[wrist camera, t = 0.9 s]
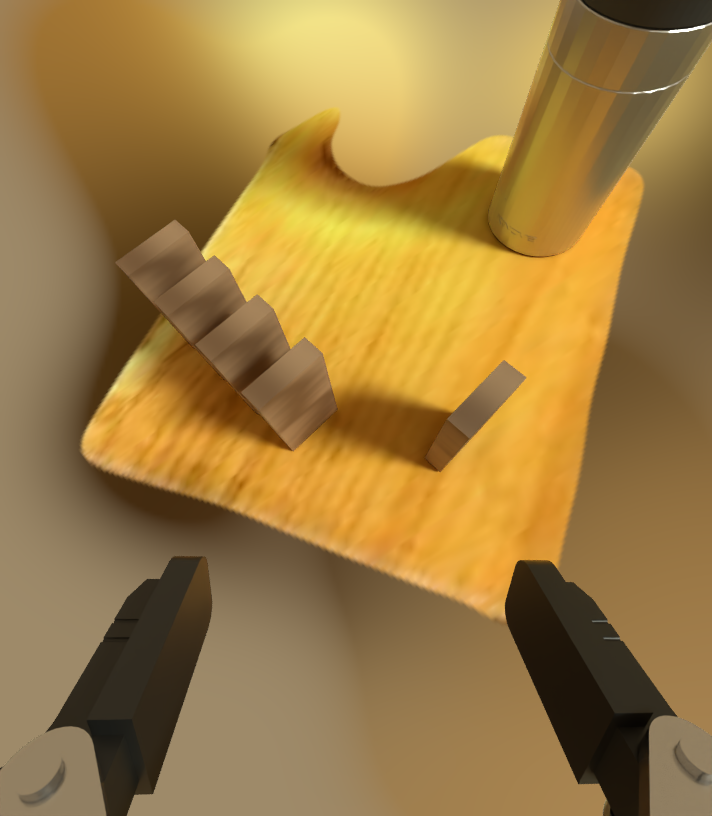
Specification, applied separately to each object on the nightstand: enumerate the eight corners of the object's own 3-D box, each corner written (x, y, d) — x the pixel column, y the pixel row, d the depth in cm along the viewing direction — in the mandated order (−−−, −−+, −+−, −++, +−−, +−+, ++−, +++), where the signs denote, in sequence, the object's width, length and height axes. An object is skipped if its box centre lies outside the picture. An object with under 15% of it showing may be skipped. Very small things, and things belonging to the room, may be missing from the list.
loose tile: (465, 415, 32) (503, 360, 22) (480, 428, 31) (526, 377, 22) (424, 458, 31) (446, 419, 21) (440, 472, 30) (469, 438, 21)
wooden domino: (256, 332, 35) (214, 255, 26) (268, 343, 35) (229, 268, 25) (213, 368, 34) (153, 301, 25) (224, 380, 34) (167, 316, 24)
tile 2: (324, 397, 33) (304, 337, 24) (337, 409, 32) (322, 353, 23) (280, 437, 32) (241, 392, 22) (293, 451, 31) (258, 410, 22)
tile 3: (289, 363, 34) (257, 294, 25) (301, 375, 34) (273, 309, 24) (245, 402, 33) (194, 344, 24) (257, 414, 33) (210, 361, 23)
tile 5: (226, 303, 37) (175, 219, 27) (236, 314, 36) (188, 231, 27) (183, 337, 35) (115, 262, 26) (194, 348, 35) (128, 275, 26)
